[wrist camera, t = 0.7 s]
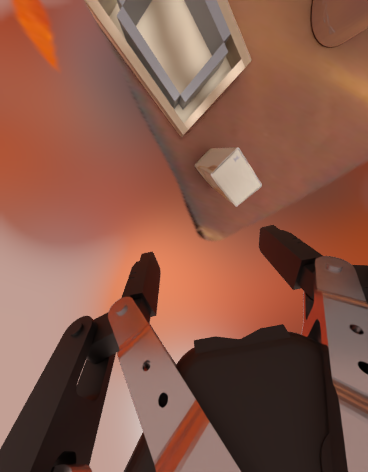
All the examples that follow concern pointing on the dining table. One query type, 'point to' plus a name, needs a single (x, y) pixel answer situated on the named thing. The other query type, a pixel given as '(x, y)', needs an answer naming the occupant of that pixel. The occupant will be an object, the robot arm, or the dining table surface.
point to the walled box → (175, 53)
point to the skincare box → (228, 173)
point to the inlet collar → (131, 10)
